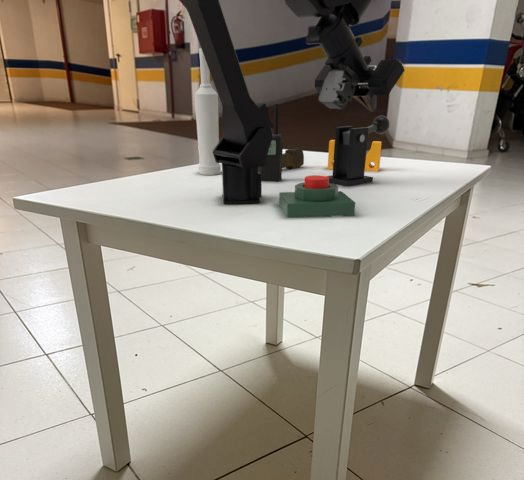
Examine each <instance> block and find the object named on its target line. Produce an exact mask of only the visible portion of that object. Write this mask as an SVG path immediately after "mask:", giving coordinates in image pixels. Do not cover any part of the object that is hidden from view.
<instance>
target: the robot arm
mask: <svg viewBox="0 0 524 480" xmlns="http://www.w3.org/2000/svg"><path fill="white" fill-rule="evenodd" d="M178 1H179V2H180V3H181V5H182V6H183V7H184V8H185V10H186V11H187V13H188V16H189V19H190V21H191V25H192V27H193V30H194V32H195V35H196V38H197V40H198V43H199V46H200V48H201V49H202V51H203V54H204V57H205V60H206V62H207V65H208V68H209V71H210V77H211V78H212V81H213V84H214V86H215V89H216V90H215V91H216V93H217V94H218V99H219V101H220V103H221V109H222V110H221V120H220V124H221V130H222V134H223V135H222V137H221V138H220V139H219V143H218V144H217V146H216V147H215V148H214V150H213V156H214V159H215V162H216V163H219V164H221V179H222V180H221V181H222V183H221V185H222V193H221V199H222V204H224V205H230V204H231V205H233V204H236V205H237V204H260V203H261V198H262V194H263V193H262V192H263V191H262V185H263V184H262V182H263V181H262V175H261V173H260V172H258V167H262V166H265V162H266V158H267V155H268V151H269V148H270V145H271V142H272V141H273V134H274V133H273V130H272V129H274V124H273V123H272V121H271V118H270V114H269V108H268V106H267V104H266V103H265V102H264V103H263V102H255V100H254V99H252V97H251V95H250V92H249V89H248V86H247V83H246V80H245V77H244V73H243V70H242V67H241V64H240V60H239V58H238V55H237V52H236V49H235V46H234V42H233V40H232V37H231V34H230V31H229V27H228V25H227V22H226V18H225V15H224V12H223V9H222V6H221V3H220V0H178ZM374 1H375V0H284V3H285V5H286V6H287V7H288V8H289V9H290V11H291V12H292V13H293V14H294V15H295V17H297V18H300V19H301V20H307V19H315V18H318V19H317V21H316V22H315V24H314V25H309V26H308V28H307V35H306V40H305V44H306V45H318V44H319V45H320V47H321V49H322V51H323V52H324V55H325V56H326V60H325V62H324V66H323V67H322V69H321V70H320V71H319V73H318V74H317V76H316V78H315V79H314V88H315V90H316V91H317V93H318V94H319V95H318V101H319V103H321V104H323V106H325V107H327V108H328V109H330V110H332V109H334V110H344V109H345V108H346V107H347V104H348V102H351V101H353V99H355V100H356V101H357V102H359V103H360V104H361V105H362V106H363V107H365V108H366V109H367V110H368V111H370V112H372V113H373V112H375V111H376V110H377V102H378V101H377V99H378V96H387V95H388V94H391V92H392V90H393V89H394V87H395V85H397V82H398V81H399V80H400V78H401V77H402V76H403V73H404V72H405V71H406V69H405V67H404V65H403V62H402V60H401V59H381V60H380V61H379V62H378V64H377V65H376V64H371V63H372V61H373V60H372V58H371V56H370V55H364V53H363V51H362V50H361V48H360V47H361V45H362V43H363V39H362V38H361V36H358V37H355V35H354V34H353V31H352V29H351V27H350V26H356V25H358V24H359V23H360V21H361V20H362V18H363V17H364V15H365V14H366V13H367V11H368V9H369V8H370V7H371V5H372V3H374Z"/></svg>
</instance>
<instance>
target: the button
mask: <svg viewBox="0 0 524 480" xmlns="http://www.w3.org/2000/svg"><path fill="white" fill-rule="evenodd" d="M327 176H328V175H307V176H305V177H304V182H303V183H304V187H306V188H313V189H324V188H329V177H327Z"/></svg>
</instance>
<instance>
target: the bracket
mask: <svg viewBox="0 0 524 480" xmlns="http://www.w3.org/2000/svg"><path fill="white" fill-rule="evenodd" d="M366 127H367V126H366ZM366 127H355V126H354V125H347V126H346V125H345V126H336V127H335V132H334V133H335V134H334V140H335V146H334V160H333V169H332V174H330V175H326V176H327V177H329V183H331V184H335V185H337V186H342V187H344V188H345V187H346V188H348V187H353V186H359V185H364V184H365V185H366V184H372V183H373V182H374V176H369V175H365V172H366V171H365V161H366V154H367V149H368V139H369V133H368V129H369V128H366ZM347 130H350V137H349V145H343V134H342V133H343V132H345V131H347Z"/></svg>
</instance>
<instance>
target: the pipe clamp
mask: <svg viewBox="0 0 524 480" xmlns="http://www.w3.org/2000/svg"><path fill="white" fill-rule="evenodd" d="M334 146H335V139H330V140H329V142H328V156H327V170H333V161H334ZM381 151H382V141H379V140H373V141H372V142H371V146H370V148H369V151H368V152H366V161H365V171H364V172H366V171H367V172H379V170H380V165H381ZM372 163H373V164H374V165H372Z"/></svg>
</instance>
